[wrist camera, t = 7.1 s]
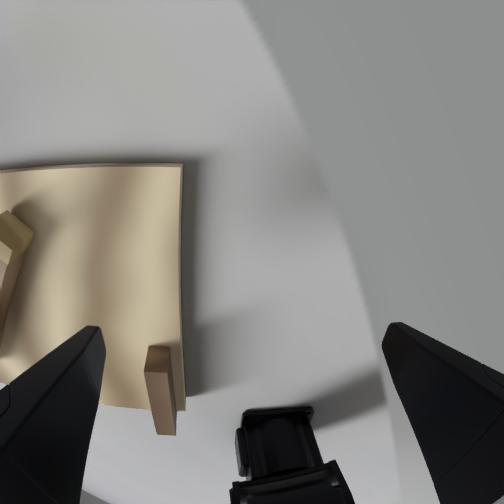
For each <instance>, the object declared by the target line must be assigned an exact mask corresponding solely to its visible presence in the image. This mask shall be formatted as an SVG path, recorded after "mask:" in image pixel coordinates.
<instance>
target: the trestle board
mask: <svg viewBox="0 0 504 504" xmlns="http://www.w3.org/2000/svg"><path fill="white" fill-rule="evenodd" d="M182 180H183V164H178V163H97V164H71V165H54V166H39V167H27V168H16V169H7V170H0V214H1V213H3V212H5V211H6V210H8V211H9V212H10V213H12V214H13V215H14V216H15V217H17V218H18V219H19V220H20V221H22V222H23V223H24V224H25V225H27V226H28V227H29V228H30V229H32V230H33V231H34V232H35V234H34V237H33V239H32V242H31V245H30V246H29V247H28V248H27V250H26V253H25V256H24V258H23V261H22V264H21V267H20V271H19V274H18V277H17V280H16V284H15V287H14V290H13V294H12V298H11V302H10V305H9V309H8V313H7V318H6V322H5V327H4V331H3V336H2V341H1V347H0V382H1V383H5V384H8V385H9V383H10V382H11V381H13V380H14V379H15V378H17V377H18V376H19V375H20V374H22V373H23V372H24V371H26V370H27V369H28V368H30V367H31V366H32V365H34V364H35V363H36V362H38V361H39V360H40V359H42V358H43V357H44V356H46V355H47V354H48V353H50V352H51V351H52V350H54V349H55V348H56V347H58V346H59V345H60V344H62V343H63V342H65V341H66V340H67V339H69V338H70V337H71V336H73V335H74V334H76V333H77V332H78V331H80V330H81V329H82V328H84V327H85V326H87V325H92V326H99V327H100V328H101V330H102V334H103V338H104V342H105V346H106V359H105V365H104V372H103V379H102V386H101V393H100V399H99V404H103V405H110V406H118V407H127V408H136V409H147V410H151V411H152V415H153V420H154V424H155V428H156V432H157V434H158V435H174V436H176V417H177V411H180V412H186V393H185V379H184V362H183V343H182V317H181V207H182Z"/></svg>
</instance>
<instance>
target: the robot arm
mask: <svg viewBox="0 0 504 504" xmlns="http://www.w3.org/2000/svg"><path fill="white" fill-rule="evenodd" d="M382 350H383V353H384V356H385V359H386V362H387V365H388V368H389V371H390V374H391V377H392V380H393V383H394V385H395V388H396V390H397V393H398V395H399V397H400V399H401V402H402V404H403V407H404V409H405V411H406V414H407V416H408V418H409V421H410V423H411V426H412V428H413V431H414V433H415V436H416V438H417V441H418V443H419V446H420V448H421V451H422V453H423V456H424V459H425V461H426V464H427V467H428V469H429V472H430V475H431V477H432V480H433V483H434V487H435V489H436V492H437V495H438V498H439V501H440V504H504V374H502V373H500V372H498V371H496V370H494V369H492V368H490V367H488V366H486V365H484V364H481V363H480V362H478V361H476V360H474V359H473V358H471V357H469V356H466V355H465V354H463V353H461V352H459V351H457V350H455V349H453V348H451V347H449V346H447V345H445V344H443V343H441V342H439V341H437V340H435V339H434V338H431V337H430V336H428V335H426V334H424V333H422V332H420V331H418V330H416V329H414V328H412V327H410V326H408V325H406V324H404V323H402V322H394V323H391V324H389V326H388V328H387V331H386V333H385V336H384V338H383V341H382ZM105 359H106V346H105V342H104V338H103V334H102V330H101V328H100V327H99V326H92V325H87V326H85V327H84V328H82V329H81V330H80V331H78V332H77V333H76V334H74V335H73V336H71V337H70V338H69V339H67V340H66V341H65V342H63V343H62V344H60V345H59V346H58V347H56V348H55V349H54V350H52V351H51V352H50V353H48V354H47V355H46V356H44V357H43V358H42V359H40V360H39V361H38V362H36V363H35V364H34V365H32V366H31V367H30V368H28V369H27V370H26V371H24V372H23V373H22V374H20V375H19V376H18V377H17V378H15V379H14V380H13V381H11V382H10V383H9V385H8V384H7V385H6V386H5V387H3V388H2V389H1V390H0V504H79V503H80V495H81V489H82V483H83V476H84V470H85V465H86V459H87V454H88V449H89V444H90V439H91V434H92V430H93V425H94V421H95V416H96V412H97V408H98V404H99V399H100V393H101V386H102V379H103V372H104V365H105ZM313 414H314V410H313V408H312V407H303V408H293V409H282V410H268V411H249V412H244V413H243V414H242V419H241V426H240V428H238V429H237V430H236V436H235V449H236V456H237V464H238V471H239V475H240V476H241V477H246V481H242V482H239V481H236V482H232V486H233V488H232V489H230V490H229V492H230V501H231V504H355V502H354V499H353V496H352V494H351V492H350V489H349V487H348V485H347V483H346V481H345V479H344V477H343V475H342V473H341V471H340V468H339V466H338V464H337V462H336V460H332V461H329V463H325V464H324V463H323V460H322V457H321V454H320V451H319V448H318V445H317V442H316V439H315V436H314V433H313V430H312V427H311V424H310V421H311V419H312V416H313Z"/></svg>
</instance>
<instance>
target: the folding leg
mask: <svg viewBox="0 0 504 504" xmlns="http://www.w3.org/2000/svg"><path fill="white" fill-rule="evenodd" d="M34 234H35V232H34V231H33V230H32V229H30V228H29V227H28V226H27V225H25V224H24V223H23V222H22V221H20V220H19V219H18V218H17V217H15V216H14V215H13V214H12V213H10V212H9V211H8V210H6V211H5V212H3V213H1V214H0V347H1V341H2V336H3V331H4V327H5V322H6V318H7V313H8V309H9V305H10V302H11V298H12V294H13V290H14V287H15V284H16V280H17V277H18V274H19V271H20V267H21V264H22V261H23V258H24V256H25V253H26V250H27V248H28V247H29V246H30V245H31V242H32V239H33V237H34Z"/></svg>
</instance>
